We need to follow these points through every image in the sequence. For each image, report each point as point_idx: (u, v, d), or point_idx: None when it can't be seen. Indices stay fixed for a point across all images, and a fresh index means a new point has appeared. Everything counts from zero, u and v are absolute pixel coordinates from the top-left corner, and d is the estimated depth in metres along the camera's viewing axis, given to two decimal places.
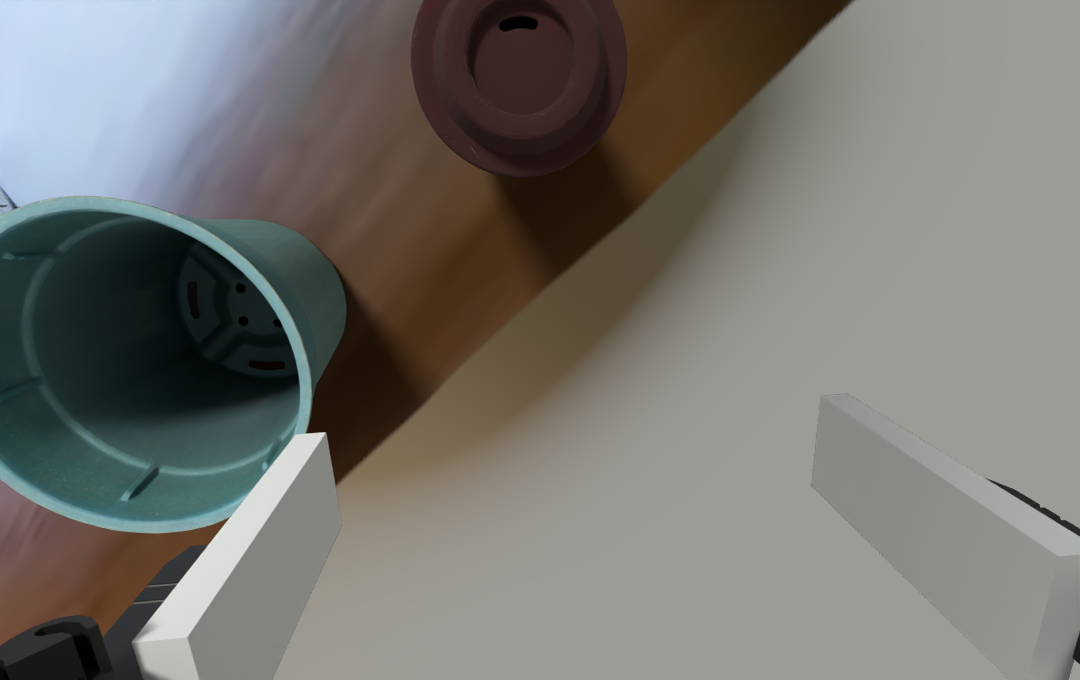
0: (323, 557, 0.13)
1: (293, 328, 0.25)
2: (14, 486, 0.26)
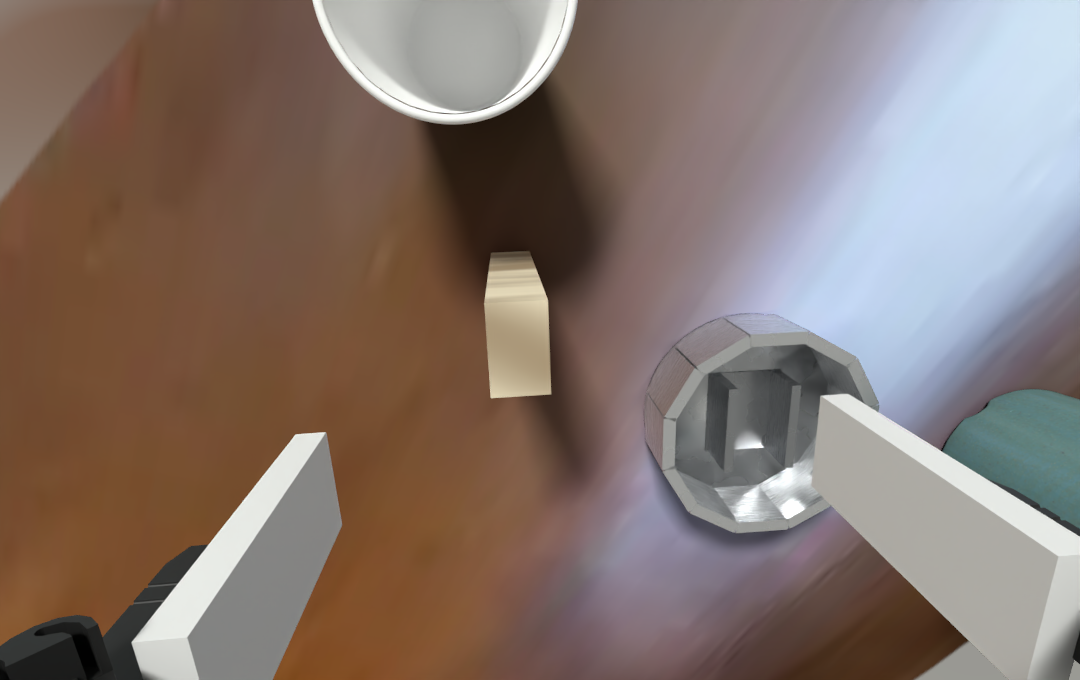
0: (323, 557, 0.13)
1: None
2: None
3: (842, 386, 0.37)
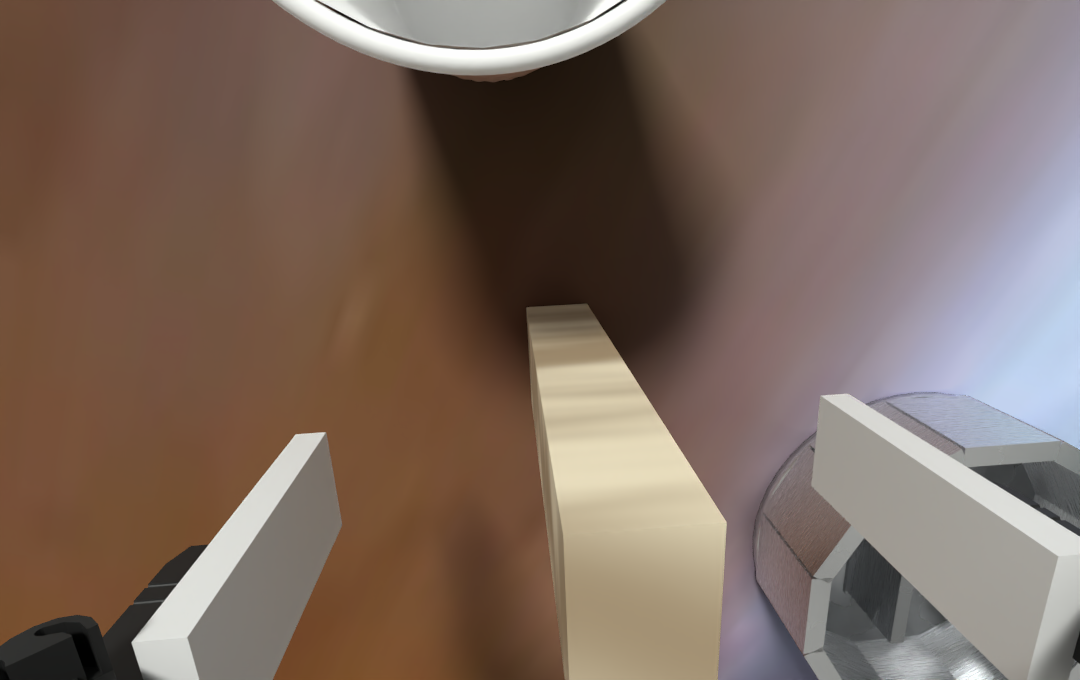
0: (323, 557, 0.13)
1: None
2: None
3: (1078, 509, 0.24)
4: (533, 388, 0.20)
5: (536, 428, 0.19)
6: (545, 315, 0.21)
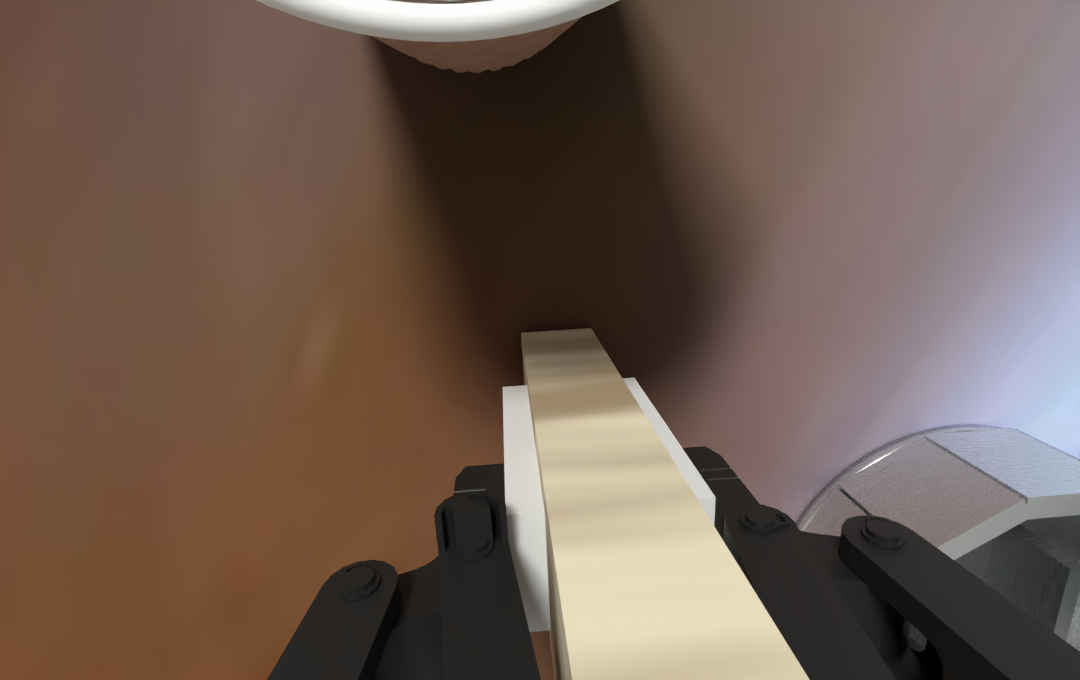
0: None
1: None
2: None
3: None
4: None
5: None
6: (543, 344, 0.18)
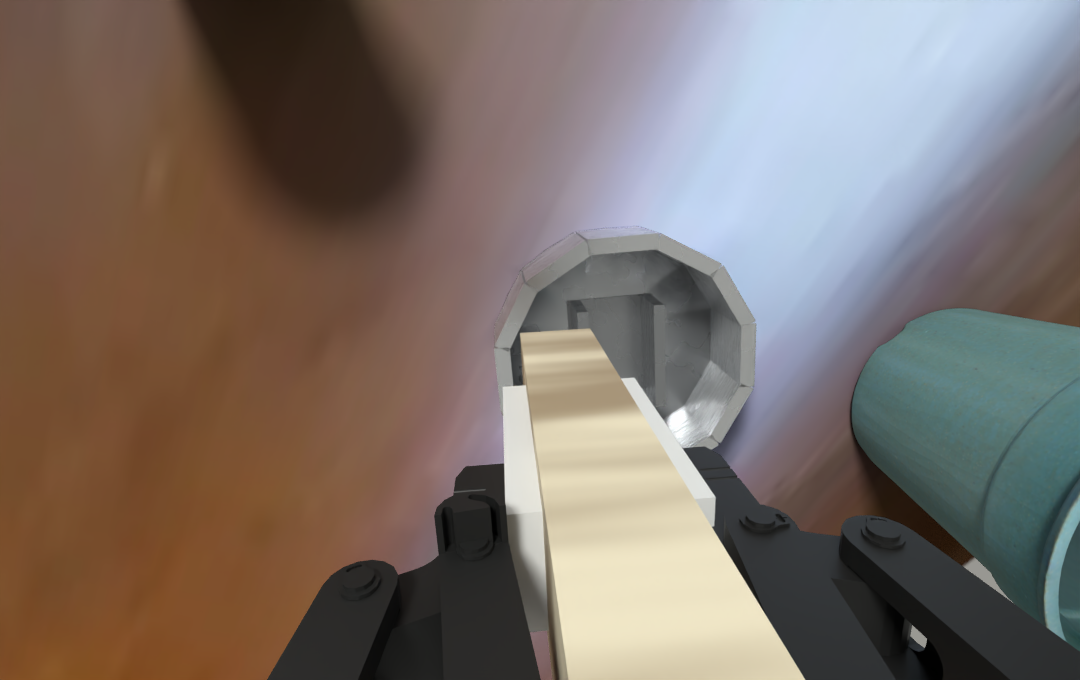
0: None
1: None
2: None
3: (719, 306, 0.31)
4: None
5: None
6: (542, 344, 0.18)
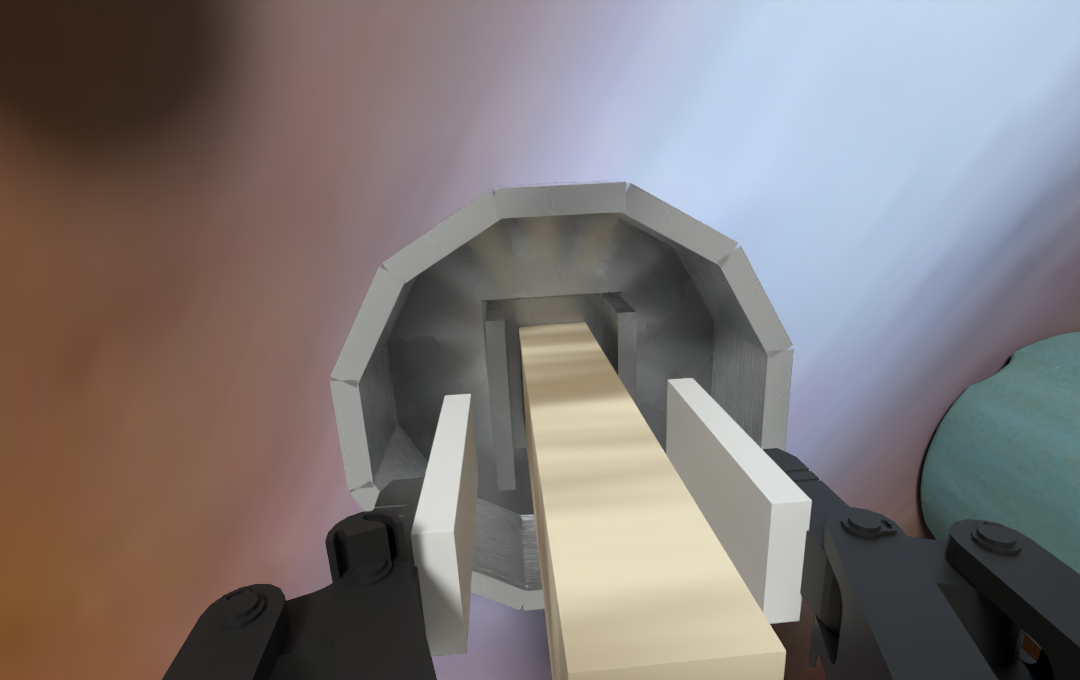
0: (476, 500, 0.15)
1: None
2: None
3: (728, 317, 0.19)
4: (526, 421, 0.17)
5: (530, 467, 0.17)
6: (539, 337, 0.19)
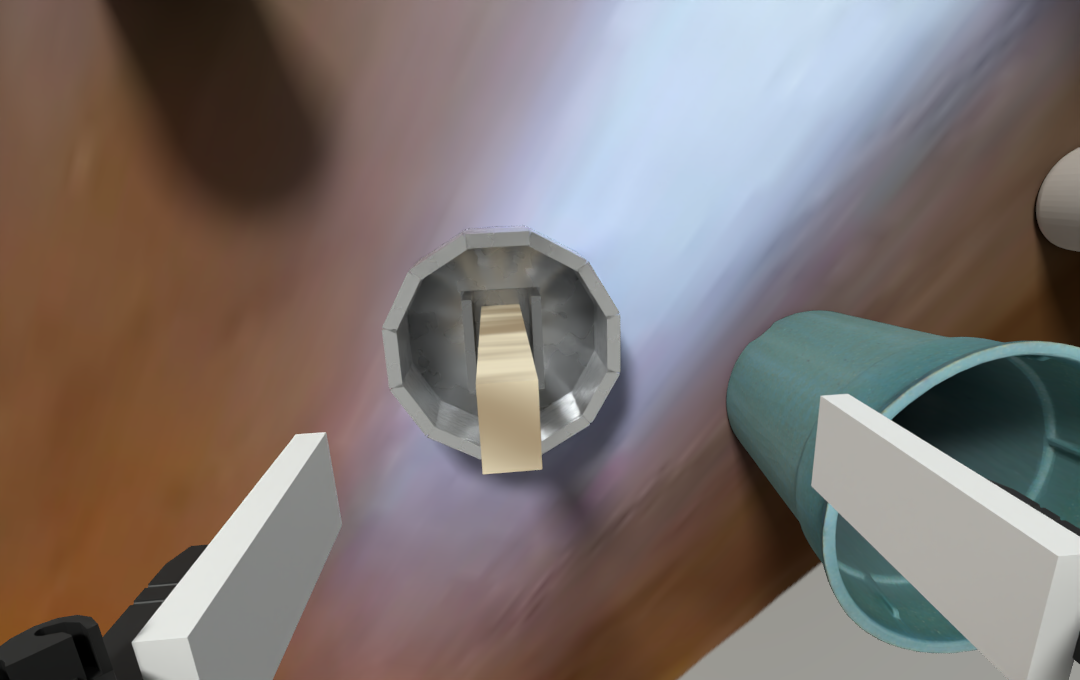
0: (323, 557, 0.13)
1: None
2: (851, 613, 0.27)
3: (593, 300, 0.35)
4: None
5: None
6: (491, 310, 0.35)
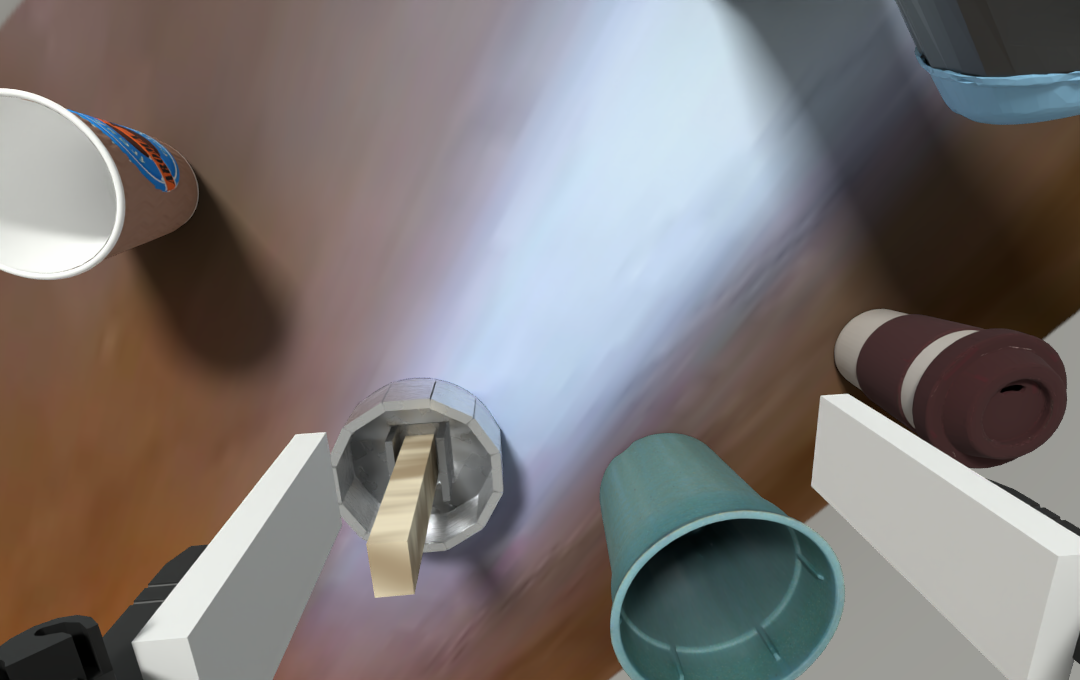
0: (323, 557, 0.13)
1: (842, 580, 0.38)
2: None
3: None
4: None
5: None
6: (410, 443, 0.47)
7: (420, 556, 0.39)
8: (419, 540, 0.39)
